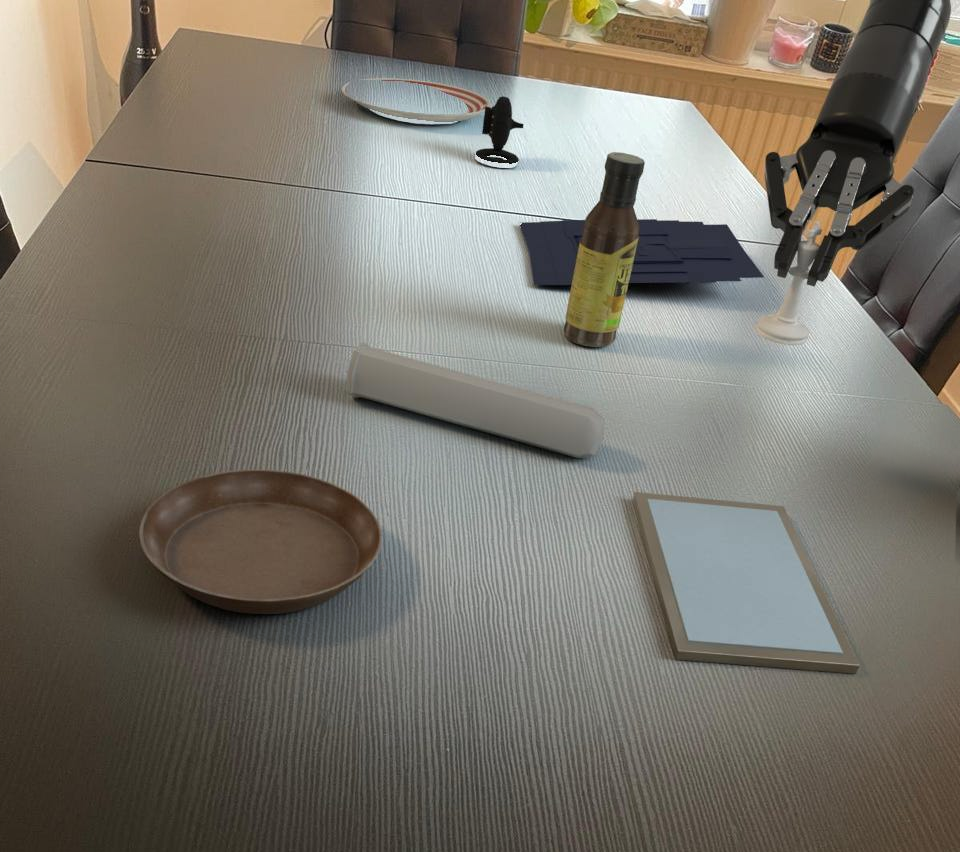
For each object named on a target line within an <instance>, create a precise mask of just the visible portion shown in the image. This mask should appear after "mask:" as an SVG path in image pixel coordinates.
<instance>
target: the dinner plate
mask: <svg viewBox="0 0 960 852" xmlns="http://www.w3.org/2000/svg"><path fill="white" fill-rule="evenodd" d="M361 80H382V81H405V82H410V83H418V84H423V85H428V86H431V87H432V88H435V89H437V90H439V91H442V92H444V93H446V94H449V95H452V96H455V97H457V98H458V99H460V100H462V101H463V102H464V103H465V104H466V105H467V107H468V111H467V113H463V114H425V113H413V112H405V111H399V110H393V109H388V108H383V107H378V106H374V105H371V104H367V103H364V102H362V101H359V100H357V99H354V98H352V97H350V96H349V95H348V94H347V92H346V86H347V85H348V84H349V83H350V82H351V81H350V82H346V83H345V84H343V86H341V93H342V94H343V95H344V96H345V97H347V98H348V99H350V100H351V101H352V100H353V101H352V102H354V101H355V102H356V103H355V102H354V103H355V104H357V103H358V104H360V105H362V106H365V107H367V108H369V109H372V110H375V111H378V112H381V113H384V114H387V115H392V116H396V117H403V118H408V119H417V120H426V121H434V122H454V121H461V122H463V121H467V120H471V119H474V118H477V117H479V116H481V115H484V114H485V107H492V106H491V101H490V100H489V99H488V98H486V97H485V96H484V95H482V94H480V93H478V92H475V91H473V90H469V89H466V88H462V87H459V86H454V85H452V84H451V85H450V84H445V83H440V82H434V81H427V80H419V79H409V78H398V77H397V78H394V77H376V78H375V77H374V78H373V77H372V78H363V79H362V78H361ZM358 104H357V105H358ZM360 105H359V106H360ZM362 106H361V107H362ZM462 120H463V121H462Z"/></svg>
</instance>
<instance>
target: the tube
mask: <svg viewBox="0 0 960 852" xmlns="http://www.w3.org/2000/svg"><path fill="white" fill-rule="evenodd" d="M346 373H347V375H346V391H345V392H346V393H347V395H349V396H350V397H352V398H354V399H359V398H362V399H366V400H370V401H373V402H377V403H380V404H384V405H387V406H391V407H394V408H398V409H402V410H405V411H408V412H411V413H416V414H420V415H423V416H426V417H429V418H434V419H437V420H441V421H444V422H447V423H451V424H454V425H458V426H462V427H465V428H468V429H472V430H476V431H479V432H483V433H487V434H490V435H494V436H497V437H500V438H504V439H507V440H512V441H515V442H519V443H522V444H525V445H528V446H533V447H536V448H539V449H543V450H547V451H550V452H553V453H557V454H560V455H565V456H569V457H570V458H571V457H572V458H575V459H577V460H578V459H579V460H581V459H585V458H591V457H595V455H596V454H597V451H598V450H599V448H600V446H601V444H602V443H603V440H604V439H605V417H603V416H602V414H600V413H599V411H597V410H595V409H594V408H593V407H589V406H586V405H583V404H578V403H575V402H572V401H568V400H564V399H562V398H557V397H554V396H551V395H546V394H542V393H538V392H535V391H531V390H527V389H524V388H520V387H517V386H513V385H511V384H506V383H503V382H498V381H494V380H491V379H488V378H484V377H480V376H477V375H473V374H469V373H466V372H462V371H458V370H455V369H451V368H448V367H444V366H440V365H437V364H432V363H429V362H425V361H422V360H419V359H414V358H410V357H408V356H403V355H400V354H396V353H392V352H389V351H386V350H382V349H377V348H374V347H372V346H370V345H369V344H368V343H365V342H362V343H360V345H358V346H357V347H356V348H355V349H354V350H353V352H352V355H351V359H350V361H349V365H348V368H347V371H346Z"/></svg>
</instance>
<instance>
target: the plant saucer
mask: <svg viewBox="0 0 960 852" xmlns="http://www.w3.org/2000/svg"><path fill="white" fill-rule="evenodd" d="M138 531H139V532H138V533H139V541H140V546H141V548H142V550H143V552H144V554H145V556H146V557H147V559H148V560H149V562H150V563H151V564H152V566H153V567H154V568H155V569H156V570H157V571H158V572H159V573H160V574H161V575H162V576H163V577H164V578H166V580H168V581H169V582H170V583H172V584H173V585H174V586H175V587H177V588H178V589H179V590H181V591H183V592H184V593H186V594H188V595H189V596H190V597H192V598H193V599H196V600H198V601H200V602H202V603H204V604H207V605H209V606H213V607H216V608H219V609H222V610H227V611H230V612H236V613H242V614H252V615H253V614H254V615H274V614H275V615H276V614H277V615H278V614H286V613H293V612H297V611H303V610H307V609H309V608H313V607H316V606H318V605H320V604H323V603H326V602H328V601H329V600H331V599H333V598H335V597H337V596H338V595H340V594H341V593H342V592H344V591H346V590H347V589H348V588H349V587H350V586H351V585H353V584H354V583H355V582H356V581H357V580H359V579H360V578H361V577H362V576H363V575H364V574H365V573H366V572H367V571H368V569H369V568H370V567H371V566H372V565H373V563H374V562H375V560H376V559H377V557H378V556H379V553H380V551H381V549H382V544H383V534H382V528H381V525H380V522H379V520H378V518H377V516H376V515H375V514H374V512H373V510H371V508H370V507H369V506H368V505H367V504H366V503H365V502H363V500H361V499H360V498H359V497H357V496H356V495H355V494H353V493H352V492H350V491H348V490H347V489H345V488H343V487H340V486H338V485H337V484H335V483H332V482H329V481H327V480H324V479H322V478H318V477H316V476H312V475H308V474H303V473H299V472H293V471H286V470H277V469H263V468H262V469H260V468H259V469H257V468H255V469H254V468H253V469H236V470H234V469H233V470H226V471H225V470H224V471H221V472H215V473H210V474H207V475H203V476H199V477H196V478H192V479H191V480H187V481H185V482H183V483H180V484H178V485H176V486H174V487H172V488H170V489H169V490H167V491H166V492H164V493H162V494H161V495H160V496H159V497H157V499H155V500H154V501H153V502H152V503H151V505H149V507H148V508H147V509H146V511H145V513H144V514H143V515H142V518H141V521H140V525H139V530H138Z"/></svg>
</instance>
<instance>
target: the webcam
mask: <svg viewBox="0 0 960 852" xmlns="http://www.w3.org/2000/svg"><path fill="white" fill-rule="evenodd" d="M514 129H524V123H521V122H517V121H515V120H514V119H513V107H512V103H511V99H510V98H509V97H508V96H499V97H498V99H496V103H495V104H494V105H493V106H490V107H485V112H484V113H483V123H482V129H481V130H482V131H481V133H482V134H481V135H487V136H489V137H490V140H491V144H492V148H491V147H490V148H489V147H488V148H481V149H477V150H476V151H475V152H476V155H477V156H478V157H480V158H481V159H484V160H487V161H491V162H498V163H509V164H512V163H516V162H518V161H519V162H520V160H519V157H518V156H517V155H516V154H515V153H513V152H511V151H508V150H505V149H504V147H505V146H506V144H507V143H508V140H509V137H510V133H511V131H512V130H514ZM490 155H496V156H501V157H504V158H506V159H507V160H503V159H498V158H491V157H487V156H490Z"/></svg>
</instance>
